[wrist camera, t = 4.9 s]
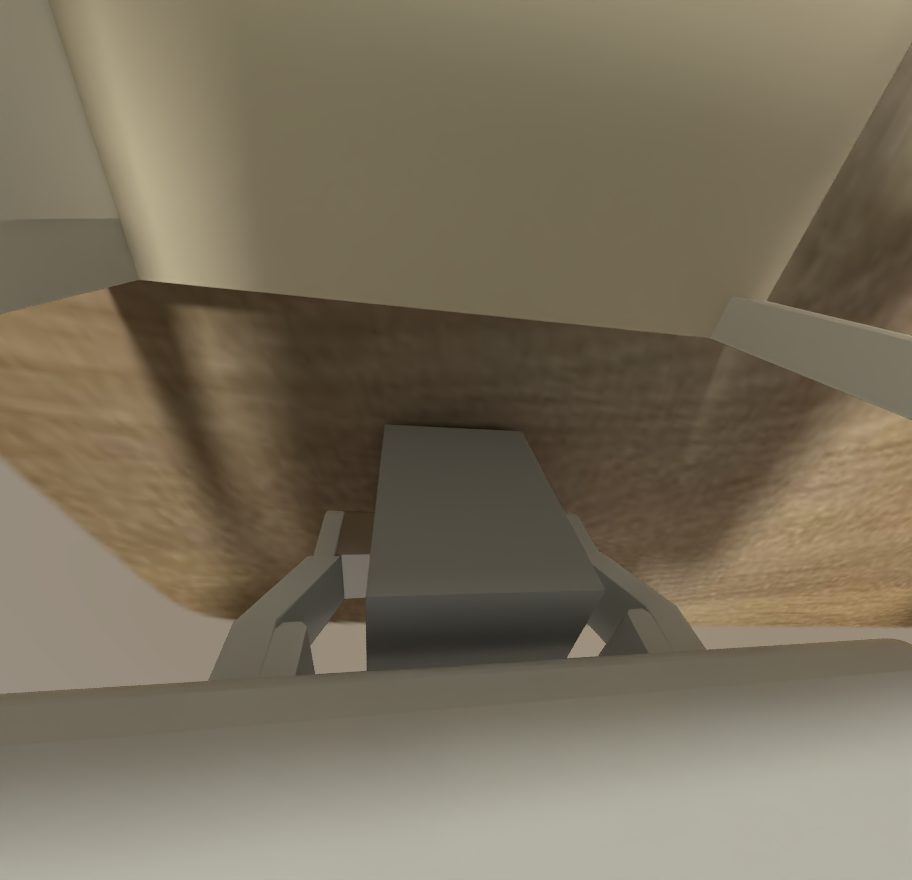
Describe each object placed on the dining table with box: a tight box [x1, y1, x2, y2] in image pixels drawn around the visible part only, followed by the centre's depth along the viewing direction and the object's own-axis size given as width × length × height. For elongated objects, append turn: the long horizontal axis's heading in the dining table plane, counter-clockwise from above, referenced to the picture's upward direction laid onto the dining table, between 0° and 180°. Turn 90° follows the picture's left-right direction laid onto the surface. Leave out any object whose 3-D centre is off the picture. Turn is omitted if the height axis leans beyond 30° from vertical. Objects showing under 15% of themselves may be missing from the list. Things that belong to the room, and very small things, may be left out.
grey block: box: [366, 424, 605, 671], centre depth 10 cm, size 5×5×6 cm
